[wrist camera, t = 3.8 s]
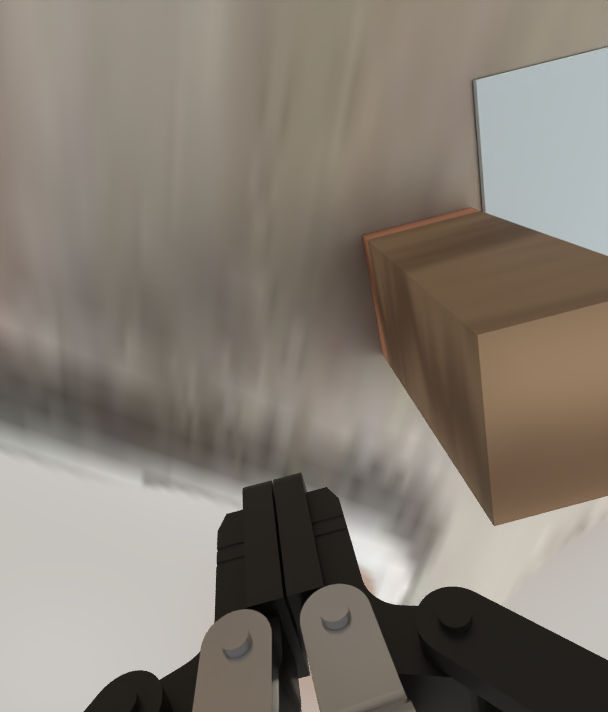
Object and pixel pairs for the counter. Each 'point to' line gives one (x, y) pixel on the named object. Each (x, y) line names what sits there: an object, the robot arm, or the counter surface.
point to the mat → (547, 147)
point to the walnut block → (500, 354)
